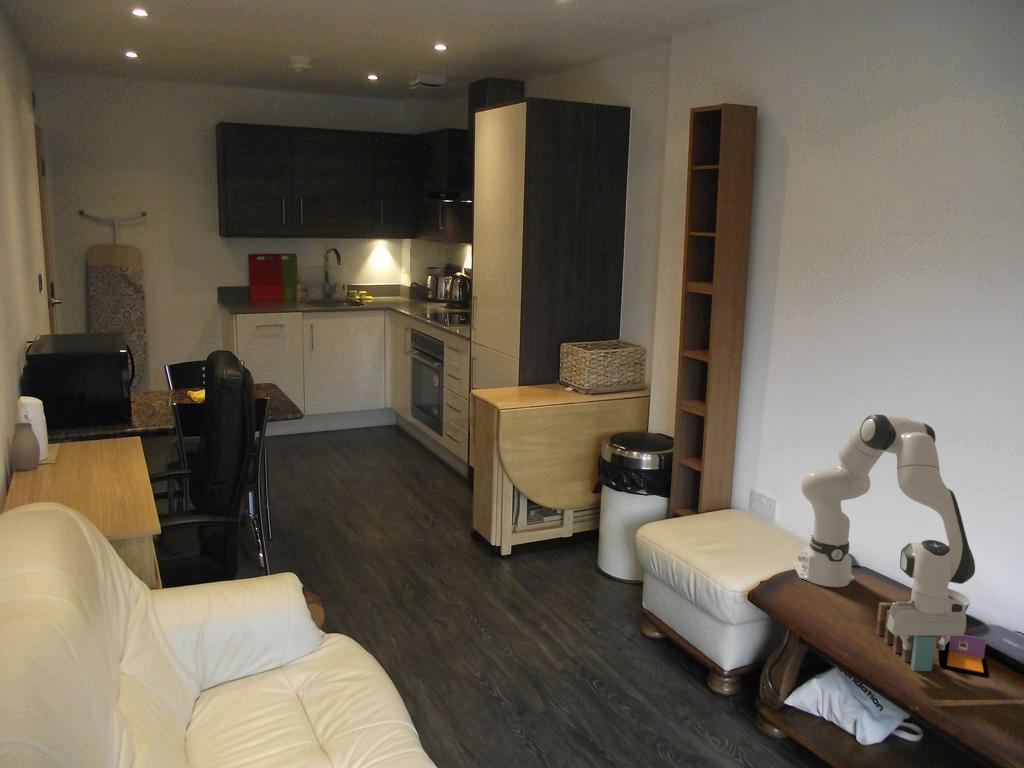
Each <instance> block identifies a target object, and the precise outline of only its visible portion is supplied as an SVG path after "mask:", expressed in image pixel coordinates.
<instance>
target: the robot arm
mask: <svg viewBox="0 0 1024 768" xmlns="http://www.w3.org/2000/svg"><path fill="white" fill-rule="evenodd" d="M884 452H885V453H889V454H895V455H896V469H897V471H896V475H897V483H898V486H899V489H900V490H901V492H902V493H903V494H904V495H905V496H906V497H908V498H910V500H912V501H914V502H917V503H918V504H921V505H923V506H926V507H928V508H929V509H932V510H933V511H935V512H937V514H938V515H939V516H940V517H941V519H942V521H943V526H944V529H945V534H946V538H947V542H948V544H946V543H944V542H942V541H939V540H935V539H926V540H923V541H921V542H911V543H908V544H906V545H905V546H903V548H901V551H900V559H899V568H900V570H901V571H903V572H904V573H905V575H906V576H908V577H909V578H910V579H913V585H912V587H911V595H910V600H903V601H902V600H897V601H895V602H893V603H894V604H892V605H891V607H890V615H889V619H888V623H887V628H888V630H889V631H890V632H891V633H892V634H893V635H896V636H900V637H901V639H902V641H903V646H902V647H903V649H904V650H911V644H910V643H909V642H907V640H906V639H908V637H909V636H935V637H939V636H941V637H940V640H939V641H935V648H936V649H937V650H938V651H939V650H945V645H946V644H947V643H948V641H949V640H950V637H951V636H962V635H963V634H964V635H965V633H966V629H967V615H966V612H965V610H966V606H965V605H964V604H963V603H962V602H961V601H959V600H958V599H956V598H955V597H953V596H951V595H949V591H948V589H949V583H952V584H953V583H954V584H960V585H963V584H964V583H966V582H968V581H970V580H971V579H972V578H973V577H974V575H975V573H976V572H975V571H976V563H975V558H974V555H973V552H972V551H971V548H970V545H969V542H968V538H967V534H966V530H965V527H964V522H963V519H962V515H961V511H960V508H959V504H958V501H957V498H956V495H955V493H954V492H953V490H952V489H949V488H948V487H947V486H946V484H945V483H944V481H943V479H942V477H941V472H940V471H941V470H940V461H939V454H938V450H937V446H936V432H935V430H934V429H933V428H932V427H931V426H930V425H929V424H927V423H924V422H922V421H916V420H913V419H909V418H906V417H897V416H892V415H889V416H888V415H884V414H877V413H875V414H871V415H868V416H867V417H866V418H865V419H864V420H863V421H861V423H860V424H858V426H856V427H855V429H854V430H853V432H852V433H850V435H849V437H848V438H847V439H846V441H845V442H844V443H843V444H842V446H841V448H840V449H839V451H838V457H839V464H837V465H836V466H834V467H832V468H831V467H830V468H825V469H816V470H814V471H812V472H809V473H807V474H805V475H804V476H803V478H802V480H801V484H800V486H801V487H800V488H801V492H802V494H803V496H804V498H805V499H806V500H808V501H809V503H810V504H811V507H812V510H813V514H814V519H813V523H814V524H813V534H812V535H810V536H811V537H810V538H811V539H810V542H809V545H808V546H807V547H805V548H802V550H801V551H800V554H798V555H797V560H793V561H792V564H793V567H794V570H795V572H796V571H797V572H796V574H797V573H798V574H797V576H798V575H799V577H800V578H801V579H804V580H803V581H805V580H807V581H806V582H809V581H810V583H813V584H815V585H817V586H821V587H822V586H823V587H828V588H842V587H843V588H844V587H846V586H849V584H850V583H851V582H852V581H854V580H855V576H854V575H852V556H851V555H850V554H849V552H850V548H849V547H850V542H849V535H850V526H851V520H850V518H849V517H848V515H846V514H845V513H844V512H843V510H842V501H847V500H853V499H858V498H859V497H862V496H863V495H865V494H867V493H868V492H869V490H870V489H871V488H870V487H871V479H870V476H869V474H870V471H872V468H873V467H874V466H875V464H876V463H877V462H878V460H879V459H880V458H881V457H882V455H883V454H884ZM799 577H798V578H799ZM801 579H800V580H801ZM895 604H896V605H895ZM966 611H967V610H966ZM963 612H965V613H963Z"/></svg>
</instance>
